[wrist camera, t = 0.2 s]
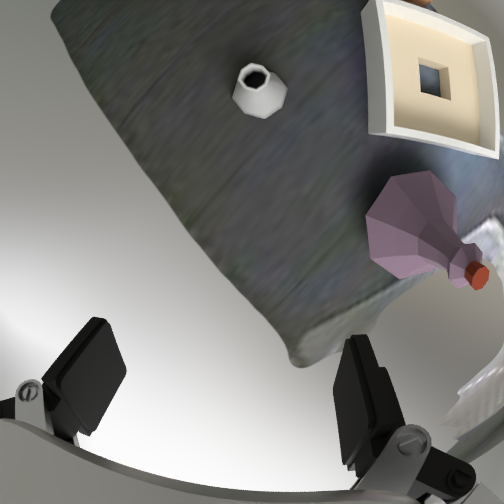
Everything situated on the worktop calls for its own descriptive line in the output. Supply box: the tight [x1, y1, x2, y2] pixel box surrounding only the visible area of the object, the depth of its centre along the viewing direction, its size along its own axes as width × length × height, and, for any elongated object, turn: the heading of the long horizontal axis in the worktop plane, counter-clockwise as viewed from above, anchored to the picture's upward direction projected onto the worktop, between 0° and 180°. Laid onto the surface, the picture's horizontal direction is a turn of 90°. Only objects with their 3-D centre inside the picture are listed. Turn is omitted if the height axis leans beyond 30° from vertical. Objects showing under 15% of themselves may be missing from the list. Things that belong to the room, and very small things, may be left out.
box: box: [361, 0, 499, 159], centre depth 26 cm, size 20×20×7 cm
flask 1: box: [232, 63, 288, 119], centre depth 28 cm, size 7×7×10 cm
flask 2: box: [365, 170, 489, 290], centre depth 28 cm, size 16×16×20 cm
